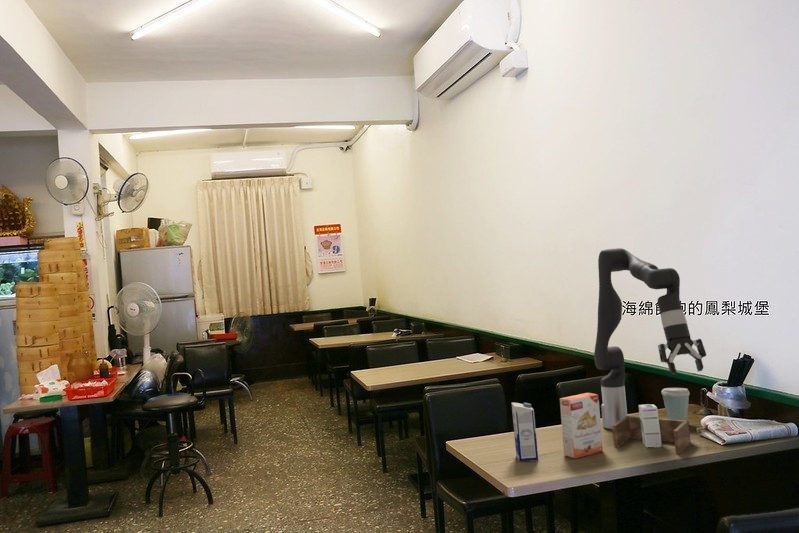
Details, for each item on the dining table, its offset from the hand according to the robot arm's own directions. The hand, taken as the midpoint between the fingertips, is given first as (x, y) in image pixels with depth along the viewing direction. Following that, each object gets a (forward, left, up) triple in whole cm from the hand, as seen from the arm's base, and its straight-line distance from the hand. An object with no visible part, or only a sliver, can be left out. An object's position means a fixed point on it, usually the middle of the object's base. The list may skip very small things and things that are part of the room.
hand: (687, 372), depth 193 cm
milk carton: (-52, -19, -30) cm, 63 cm away
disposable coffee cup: (-17, +45, -30) cm, 56 cm away
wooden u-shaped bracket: (-18, +13, -29) cm, 37 cm away
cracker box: (-36, -6, -30) cm, 47 cm away
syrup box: (-18, +13, -30) cm, 37 cm away
